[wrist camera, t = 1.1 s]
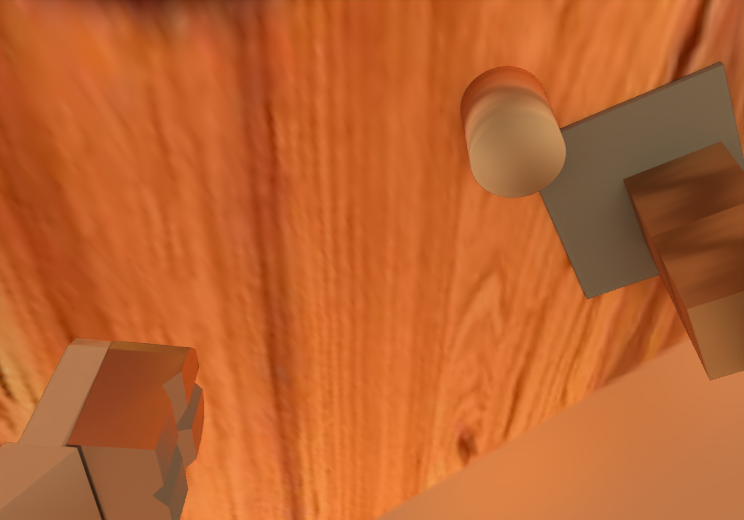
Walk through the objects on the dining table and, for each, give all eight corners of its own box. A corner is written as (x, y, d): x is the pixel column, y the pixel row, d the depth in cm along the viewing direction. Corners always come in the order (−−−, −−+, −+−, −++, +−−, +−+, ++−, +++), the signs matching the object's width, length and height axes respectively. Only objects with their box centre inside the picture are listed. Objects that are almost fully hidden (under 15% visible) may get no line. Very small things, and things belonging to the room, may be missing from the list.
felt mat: (585, 295, 52) (587, 299, 51) (520, 145, 44) (521, 149, 43) (758, 236, 48) (761, 239, 48) (720, 61, 40) (723, 64, 40)
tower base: (646, 245, 48) (674, 305, 44) (623, 179, 45) (651, 236, 40) (738, 212, 46) (777, 272, 42) (721, 141, 43) (762, 196, 38)
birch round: (479, 155, 44) (491, 210, 40) (447, 89, 41) (455, 140, 37) (556, 122, 43) (577, 176, 38) (528, 51, 40) (548, 100, 35)
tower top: (674, 305, 44) (709, 380, 39) (651, 236, 40) (686, 309, 36) (777, 272, 42) (827, 346, 37) (762, 196, 38) (815, 267, 34)
